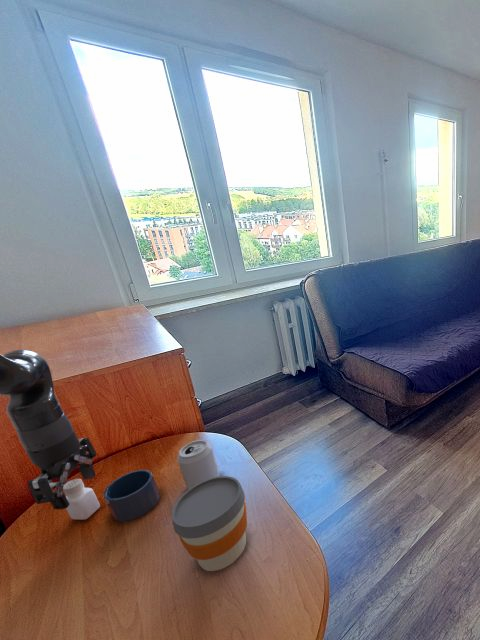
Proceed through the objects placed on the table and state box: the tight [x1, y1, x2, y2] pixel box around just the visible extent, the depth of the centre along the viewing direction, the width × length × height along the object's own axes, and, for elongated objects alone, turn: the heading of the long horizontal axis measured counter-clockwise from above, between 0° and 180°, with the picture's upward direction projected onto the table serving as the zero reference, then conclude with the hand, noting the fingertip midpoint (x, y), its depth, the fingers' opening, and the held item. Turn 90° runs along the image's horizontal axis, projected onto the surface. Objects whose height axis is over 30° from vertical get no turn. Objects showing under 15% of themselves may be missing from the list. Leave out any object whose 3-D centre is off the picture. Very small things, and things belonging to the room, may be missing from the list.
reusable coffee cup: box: [171, 475, 248, 572], centre depth 70 cm, size 13×12×15 cm
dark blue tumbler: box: [103, 469, 161, 523], centre depth 82 cm, size 9×9×7 cm
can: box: [176, 439, 220, 490], centre depth 87 cm, size 8×8×12 cm
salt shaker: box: [63, 478, 101, 521], centre depth 79 cm, size 4×4×10 cm
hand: (77, 492), depth 79 cm, fingers open, 8 cm apart
